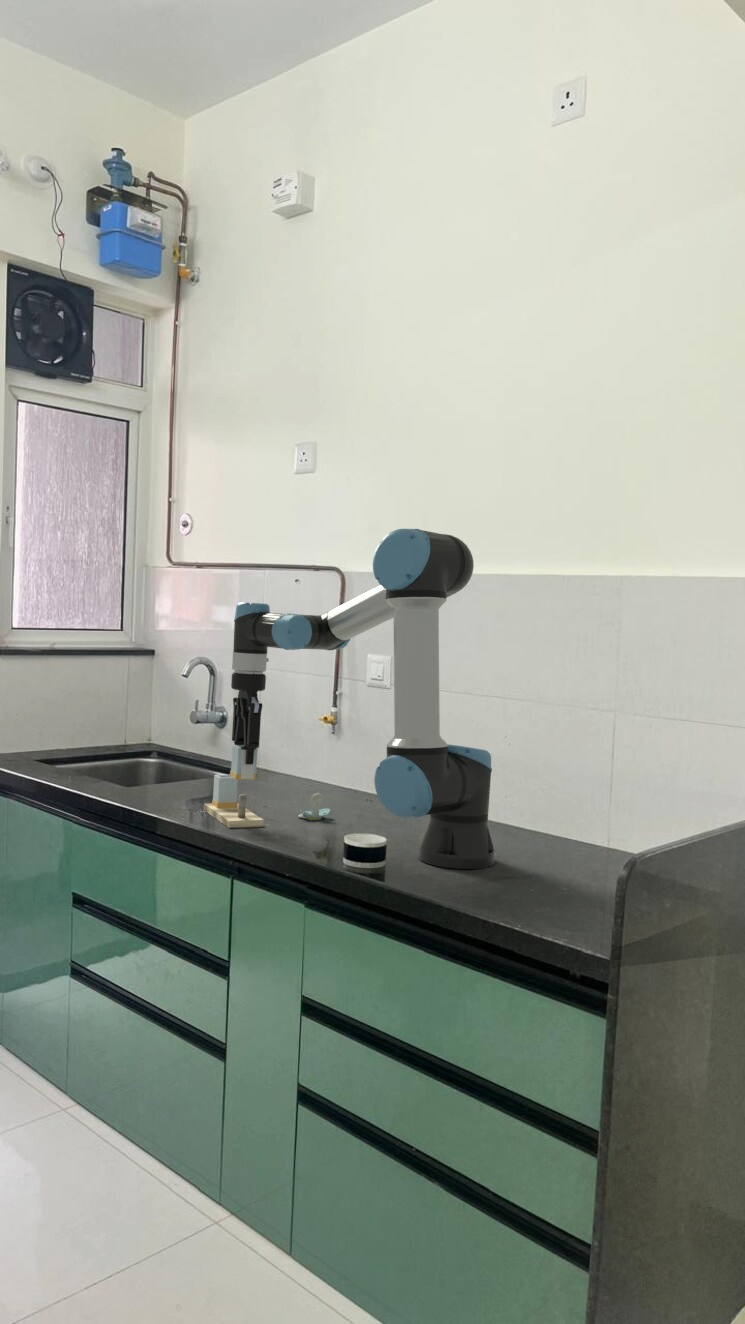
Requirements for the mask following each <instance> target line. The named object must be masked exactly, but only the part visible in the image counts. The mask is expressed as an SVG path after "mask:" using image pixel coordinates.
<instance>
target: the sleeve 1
mask: <svg viewBox="0 0 745 1324" xmlns="http://www.w3.org/2000/svg"><path fill="white" fill-rule="evenodd" d="M238 781H239V780H236V779H234V778H233V777H231V776H230V774H214V775H213V789H212V790H213V792H212V795H213V796H212V799H211V803H212V805H214V806H215V807H217V808H237V803H238V802H237V800H238Z"/></svg>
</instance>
